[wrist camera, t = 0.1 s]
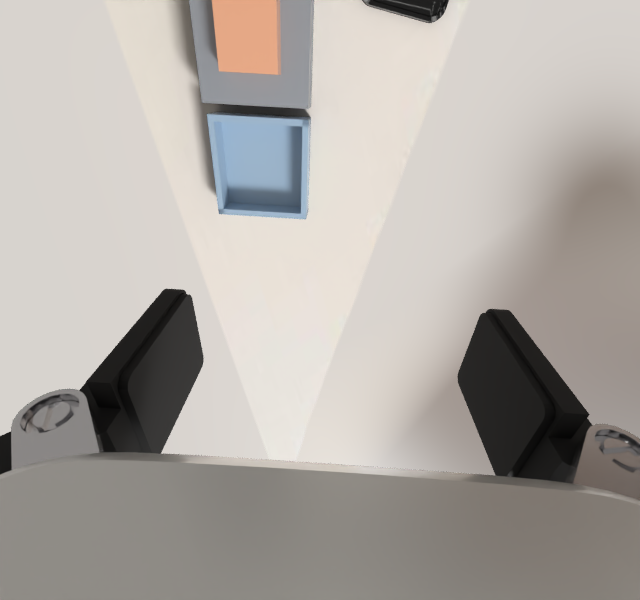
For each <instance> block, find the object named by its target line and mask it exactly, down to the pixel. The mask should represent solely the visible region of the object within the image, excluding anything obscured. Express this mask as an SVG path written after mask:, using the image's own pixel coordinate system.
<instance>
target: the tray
mask: <svg viewBox="0 0 640 600" xmlns="http://www.w3.org/2000/svg"><path fill="white" fill-rule="evenodd" d="M207 120H208V128H209V136H210V144H211V153H212V161H213V169H214V177H215V185H216V194H217V202H218V210H219V214H228V215H245V216H261V217H277V218H294V219H306V218H307V213H308V195H309V160H310V124H311V117H294V116H277V115H260V114H242V113H225V112H214V113H210V114H207Z"/></svg>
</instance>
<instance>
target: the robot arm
mask: <svg viewBox="0 0 640 600" xmlns="http://www.w3.org/2000/svg"><path fill="white" fill-rule="evenodd" d="M202 365H203V353H202V347H201V342H200V337H199V332H198V327H197V321H196V316H195V311H194V306H193V301H192V297H191V295H187V294H186V292H185V291H184V290H176V289H165V290H163V291H162V292H161V294H160V295H159V296H158V297H157V298H156V300H155V301H154V302H153V303H152V304H151V305H150V307H149V308H148V309H147V310H146V311H145V313H144V314H143V315H142V316H141V317H140V319H139V320H138V321H137V322H136V324H134V326H133V327H132V328H131V329H130V330H129V332H128V333H127V334H126V335H125V336H124V337H123V339H122V340H121V341H120V342H119V343H118V345H117V346H116V347H115V348H114V349H113V351H112V352H111V353H110V354H109V355H108V356H107V358H106V359H105V360H104V361H103V362H102V364H101V365H100V366H99V367H98V368H97V369H96V371H95V372H94V373H93V374H92V376H91V377H90V378H89V379H88V380H87V381H86V383H85V384H84V386H83V387H82V388H81V389H80V390H75V389H62V390H57V391H53V392H49V393H47V394H45V395H42V396H40V397H38V398H36V399H35V400H33V401H32V402H30V403H29V404H27V405H26V406H25V407H24V408H23V409H22V410H20V411H19V412H18V414H17V415H16V417H15V418H14V420H13V423H12V427H11V432H9V433H6V434H5V435H2V436H0V600H640V439H639V438H638V437H636V436H635V435H633V434H631V433H630V432H628V431H626V430H623V429H621V428H619V427H616V426H612V425H608V424H595V425H592V424H591V423H590V422H589V420H588V419H587V417H588V416H589V414H588V412H587V411H586V409H585V408H584V407H583V406H582V404H581V403H580V402H579V401H578V399H577V398H576V397H575V395H574V394H573V392H572V391H571V390H570V389H569V387H568V386H567V385H566V383H565V382H564V381H563V379H562V378H561V377H560V375H559V374H558V373H557V372H556V370H555V369H554V368H553V366H552V365H551V364H550V362H549V361H548V360H547V358H546V357H545V356H544V355H543V353H542V352H541V351H540V349H539V348H538V347H537V346H536V344H535V343H534V341H533V340H532V339H531V338H530V336H529V335H528V334H527V332H526V331H525V330H524V328H523V327H522V326H521V325H520V323H519V322H518V321H517V319H516V318H515V317H514V315H513V314H512V313H511V312H510V311H509V310H497V309H489V310H487V312H486V313H482V314H481V315H480V317H479V320H478V322H477V325H476V328H475V331H474V333H473V336H472V338H471V341H470V344H469V346H468V349H467V351H466V354H465V357H464V359H463V362H462V365H461V367H460V370H459V373H458V383H459V386H460V389H461V391H462V393H463V396H464V398H465V401H466V403H467V406H468V408H469V411H470V413H471V415H472V418H473V420H474V423H475V425H476V428H477V430H478V433H479V435H480V438H481V440H482V443H483V445H484V448H485V450H486V453H487V455H488V458H489V460H490V462H491V465H492V467H493V470H494V472H495V475H496V476H493V475H481V474H467V473H453V472H439V471H425V470H412V469H398V468H383V467H369V466H355V465H339V464H325V463H310V462H295V461H280V460H263V459H248V458H231V457H215V456H199V455H179V454H161V452H162V450H163V447H164V445H165V443H166V441H167V439H168V437H169V435H170V433H171V431H172V429H173V426H174V424H175V422H176V420H177V418H178V416H179V414H180V412H181V410H182V407H183V405H184V404H185V401H186V399H187V397H188V395H189V393H190V391H191V389H192V387H193V385H194V383H195V381H196V378H197V376H198V374H199V372H200V370H201V368H202Z"/></svg>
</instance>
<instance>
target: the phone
mask: <svg viewBox="0 0 640 600" xmlns="http://www.w3.org/2000/svg"><path fill="white" fill-rule="evenodd" d="M362 1H363V2H364V3H365V4H366V5H367V6H369V7H373V8H376V9H380V10H384V11H387V12H391V13H394V14H398V15H401V16H405V17H408V18H412V19H415V20H419V21H422V22H426V23H432V22H435V21H436V20H438V19H439V18H441V16H442V15H443V14H444V12H445V10H446V7H447V4H448V1H449V0H362Z"/></svg>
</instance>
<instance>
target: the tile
mask: <svg viewBox="0 0 640 600" xmlns="http://www.w3.org/2000/svg"><path fill="white" fill-rule="evenodd" d="M212 7H213V17H214V27H215V37H216V47H217V58H218V68H219V71H221V72H234V73H252V74H269V75H281V32H280V0H212Z"/></svg>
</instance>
